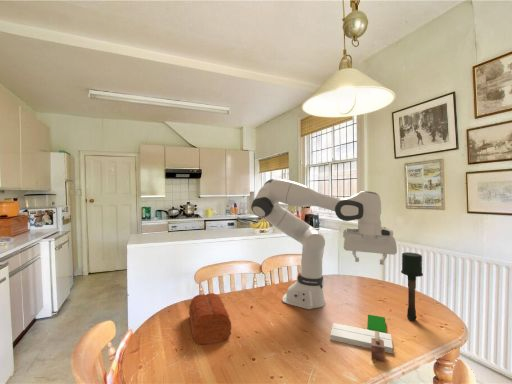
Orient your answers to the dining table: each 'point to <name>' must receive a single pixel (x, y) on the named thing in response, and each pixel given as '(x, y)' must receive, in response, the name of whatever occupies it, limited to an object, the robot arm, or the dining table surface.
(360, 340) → the board
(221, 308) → the bread
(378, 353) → the block
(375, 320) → the dish sponge
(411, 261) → the potato masher grenade
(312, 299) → the robot arm
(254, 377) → the dining table surface
